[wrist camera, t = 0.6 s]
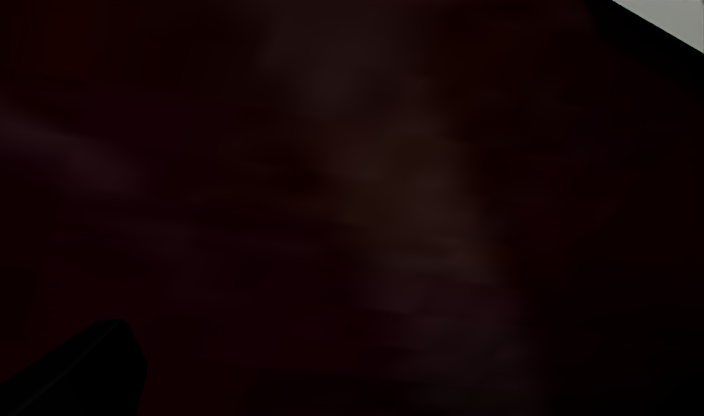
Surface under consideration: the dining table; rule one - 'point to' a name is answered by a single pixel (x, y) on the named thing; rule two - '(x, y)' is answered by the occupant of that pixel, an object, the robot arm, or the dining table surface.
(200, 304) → the dining table surface
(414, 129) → the dining table surface
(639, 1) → the hand stamp
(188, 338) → the dining table surface
